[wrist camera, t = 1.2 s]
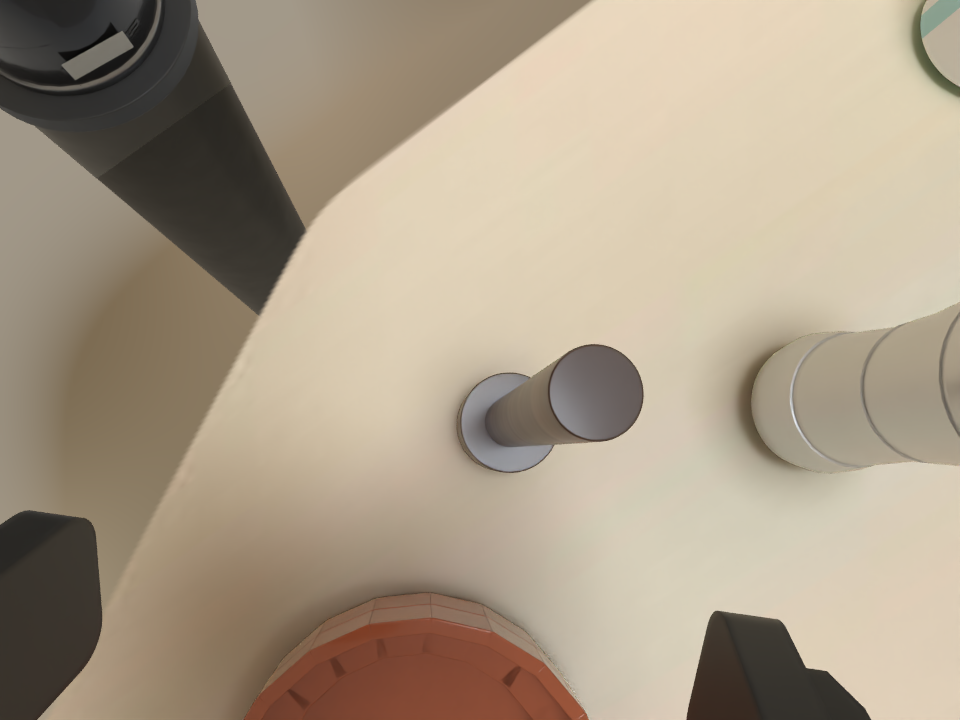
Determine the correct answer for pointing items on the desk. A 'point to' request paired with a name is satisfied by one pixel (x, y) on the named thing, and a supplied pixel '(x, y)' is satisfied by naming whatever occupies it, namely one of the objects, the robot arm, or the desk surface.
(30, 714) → the robot arm
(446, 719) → the bowl
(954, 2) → the can
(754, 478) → the desk surface
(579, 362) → the dark brown pestle
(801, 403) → the plastic bottle
